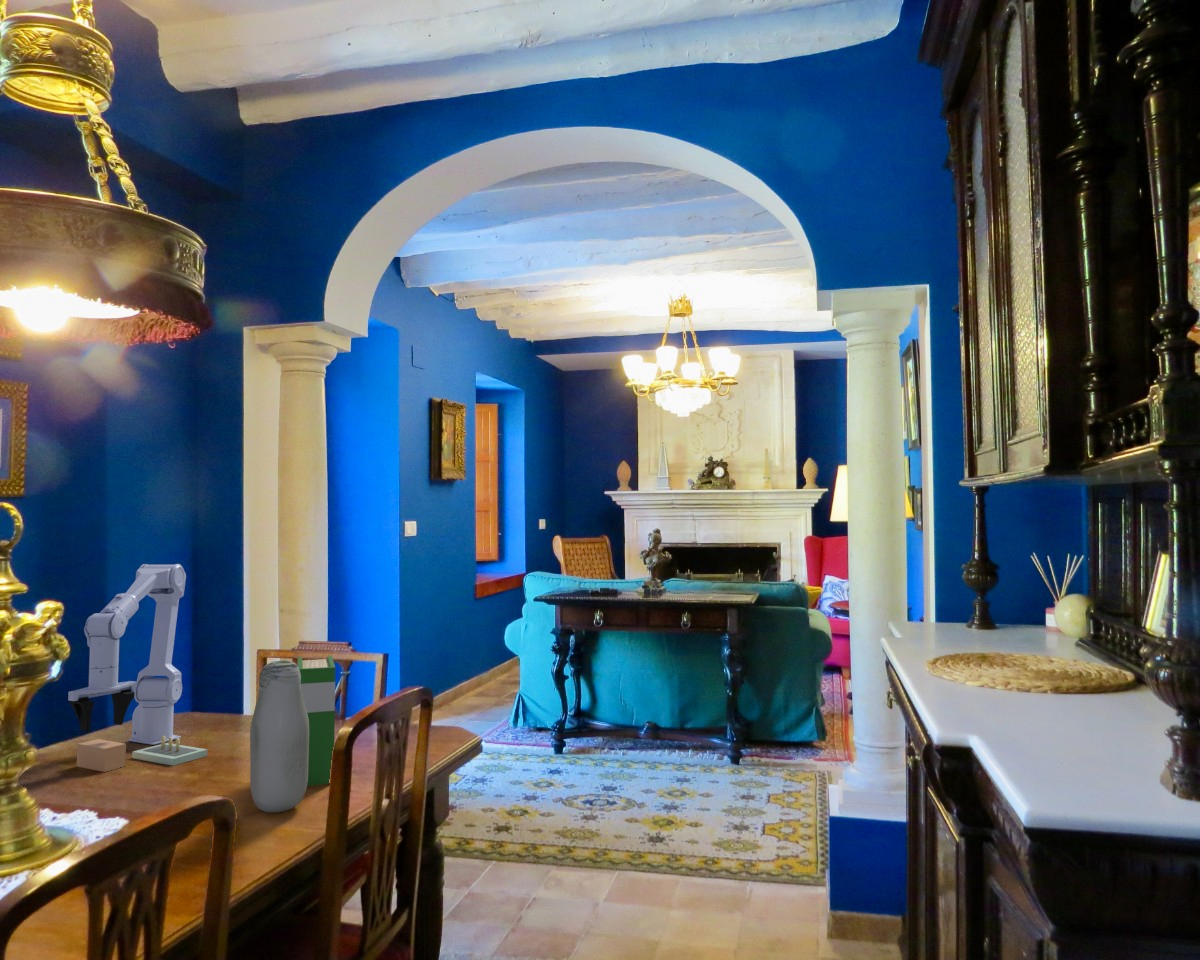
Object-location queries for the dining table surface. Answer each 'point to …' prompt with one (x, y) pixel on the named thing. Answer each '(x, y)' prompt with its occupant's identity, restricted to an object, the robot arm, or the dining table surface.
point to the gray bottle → (279, 739)
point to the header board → (169, 753)
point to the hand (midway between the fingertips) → (102, 727)
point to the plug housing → (101, 755)
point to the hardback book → (319, 715)
